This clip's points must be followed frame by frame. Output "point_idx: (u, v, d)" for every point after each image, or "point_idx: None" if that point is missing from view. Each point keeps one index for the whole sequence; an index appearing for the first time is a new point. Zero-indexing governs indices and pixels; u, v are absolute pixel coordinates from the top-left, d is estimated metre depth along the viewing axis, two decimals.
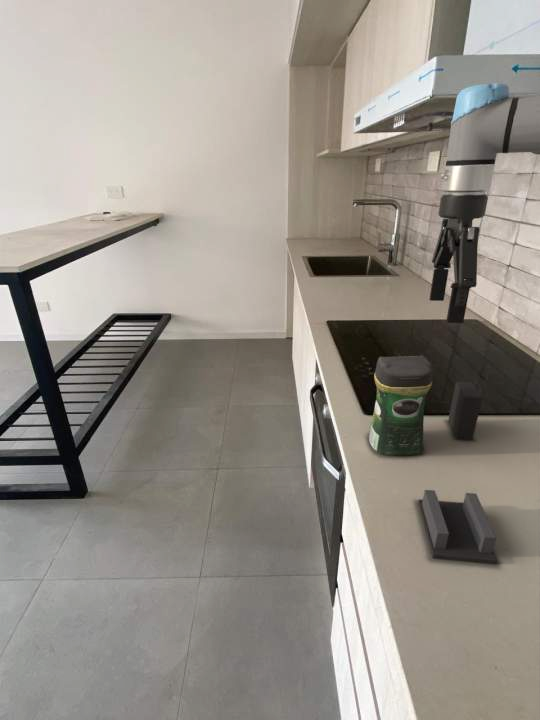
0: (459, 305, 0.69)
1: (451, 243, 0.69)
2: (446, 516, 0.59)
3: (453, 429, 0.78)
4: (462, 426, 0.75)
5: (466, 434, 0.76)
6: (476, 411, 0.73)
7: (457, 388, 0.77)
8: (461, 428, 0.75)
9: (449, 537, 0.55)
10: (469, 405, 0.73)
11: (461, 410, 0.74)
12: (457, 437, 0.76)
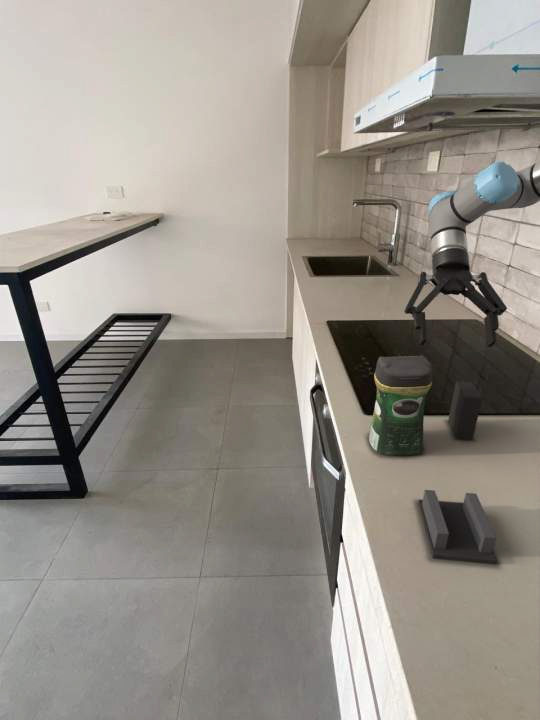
0: (415, 327, 0.84)
1: None
2: (446, 516, 0.59)
3: (453, 429, 0.78)
4: (462, 426, 0.75)
5: (466, 434, 0.76)
6: (476, 411, 0.73)
7: (457, 388, 0.77)
8: (461, 428, 0.75)
9: (449, 537, 0.55)
10: (469, 405, 0.73)
11: (461, 410, 0.74)
12: (457, 437, 0.76)
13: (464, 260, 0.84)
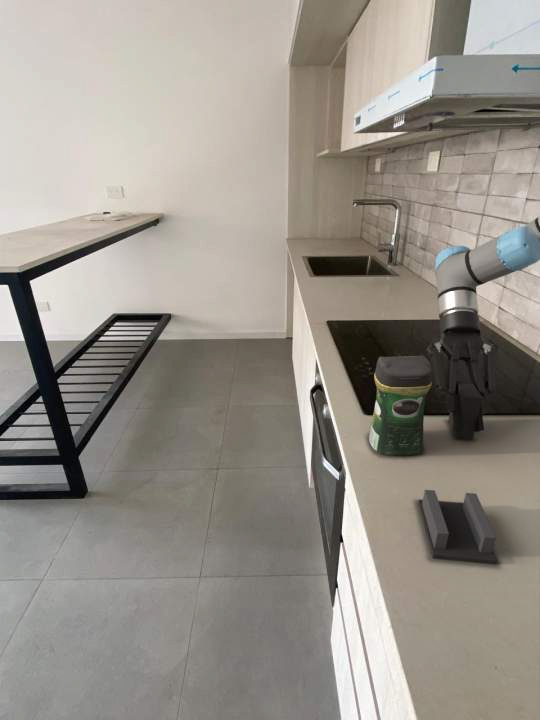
0: (448, 410, 0.76)
1: None
2: (446, 516, 0.59)
3: (453, 429, 0.78)
4: None
5: (466, 434, 0.76)
6: (476, 411, 0.73)
7: (457, 388, 0.77)
8: None
9: (449, 537, 0.55)
10: (469, 405, 0.73)
11: (461, 410, 0.74)
12: (457, 437, 0.76)
13: (474, 325, 0.77)
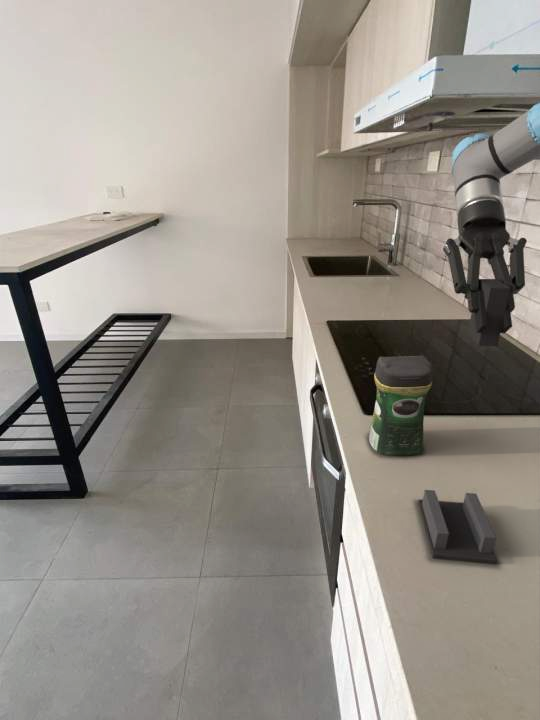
0: (470, 309, 0.66)
1: None
2: (446, 516, 0.59)
3: (475, 334, 0.68)
4: None
5: (491, 336, 0.66)
6: (503, 306, 0.64)
7: (480, 286, 0.67)
8: (485, 329, 0.66)
9: (449, 537, 0.55)
10: (495, 298, 0.63)
11: (485, 306, 0.64)
12: (480, 341, 0.67)
13: (499, 214, 0.68)
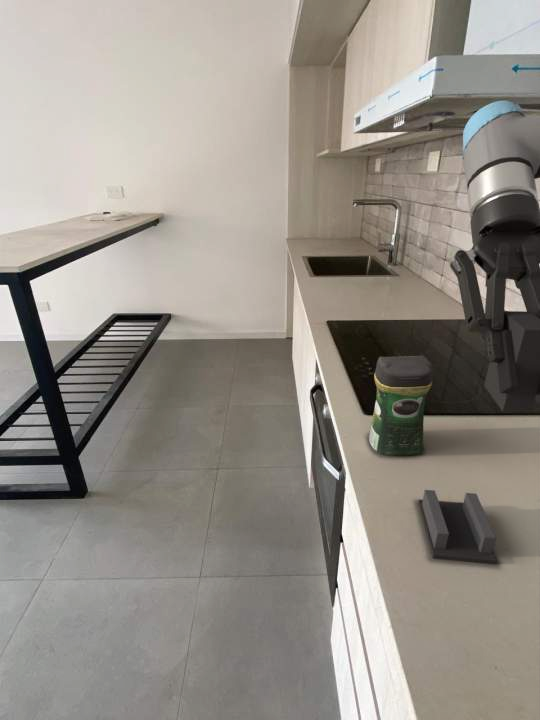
0: (491, 358, 0.44)
1: None
2: (446, 516, 0.59)
3: (497, 393, 0.46)
4: None
5: (522, 399, 0.44)
6: None
7: (505, 322, 0.45)
8: None
9: (449, 537, 0.55)
10: (531, 345, 0.41)
11: (515, 355, 0.42)
12: (505, 405, 0.44)
13: (534, 216, 0.46)
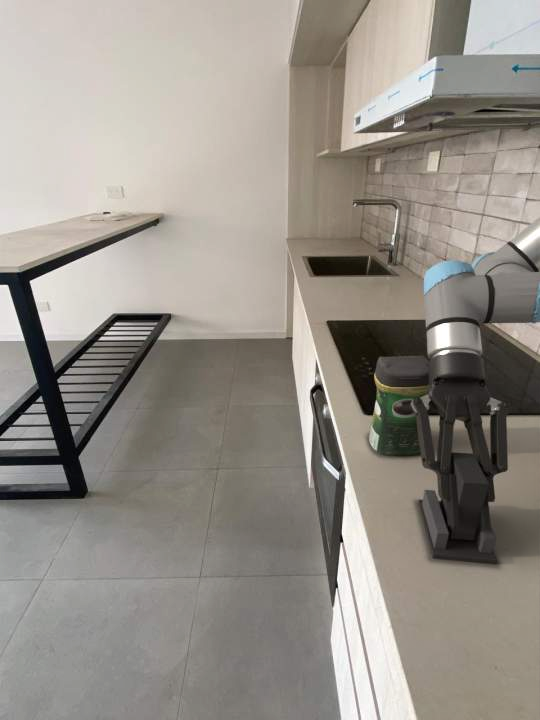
0: (440, 496, 0.53)
1: None
2: None
3: None
4: (460, 520, 0.52)
5: (465, 530, 0.53)
6: (480, 502, 0.51)
7: (452, 464, 0.54)
8: None
9: (449, 537, 0.55)
10: (470, 493, 0.50)
11: (458, 498, 0.51)
12: (453, 534, 0.54)
13: (477, 373, 0.55)
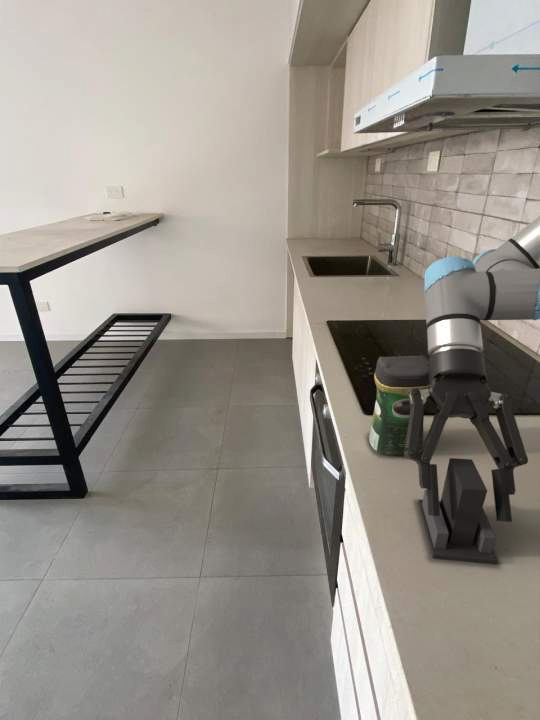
0: (421, 486, 0.54)
1: None
2: None
3: (446, 524, 0.56)
4: (458, 526, 0.53)
5: (464, 535, 0.53)
6: (478, 508, 0.51)
7: (451, 470, 0.55)
8: (457, 528, 0.53)
9: None
10: (468, 499, 0.51)
11: (457, 504, 0.52)
12: (451, 539, 0.54)
13: (477, 370, 0.55)
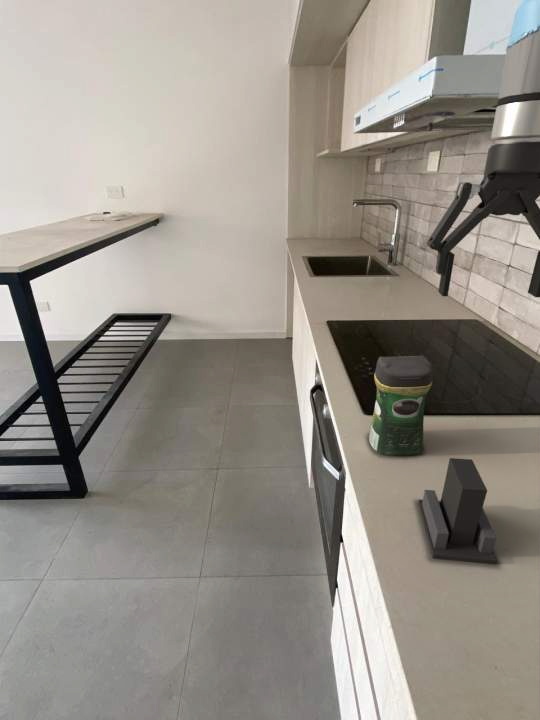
0: (436, 271, 0.62)
1: None
2: None
3: (446, 524, 0.56)
4: (458, 526, 0.53)
5: (464, 535, 0.53)
6: (478, 508, 0.51)
7: (451, 470, 0.55)
8: (457, 528, 0.53)
9: None
10: (468, 499, 0.51)
11: (457, 504, 0.52)
12: (451, 539, 0.54)
13: (539, 169, 0.52)
